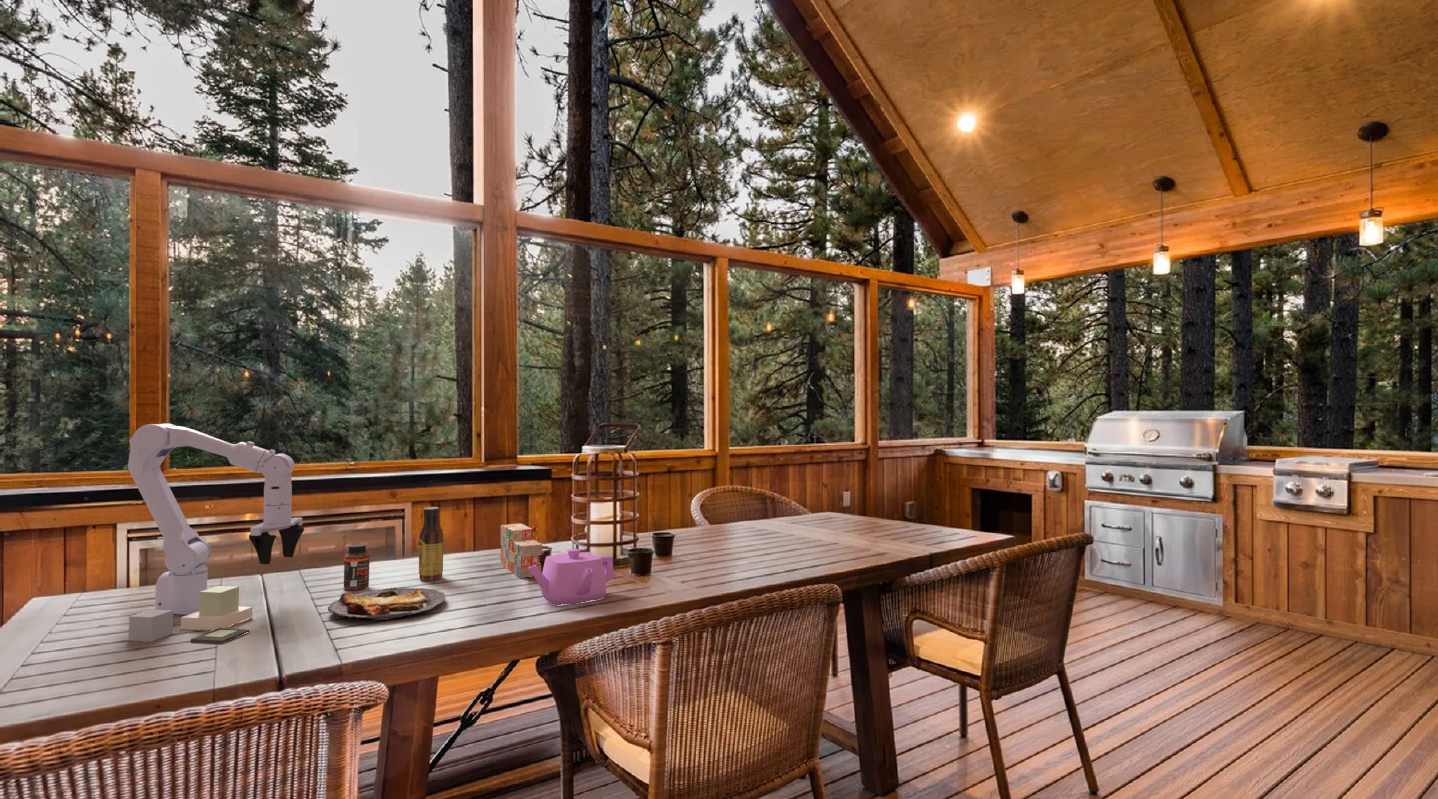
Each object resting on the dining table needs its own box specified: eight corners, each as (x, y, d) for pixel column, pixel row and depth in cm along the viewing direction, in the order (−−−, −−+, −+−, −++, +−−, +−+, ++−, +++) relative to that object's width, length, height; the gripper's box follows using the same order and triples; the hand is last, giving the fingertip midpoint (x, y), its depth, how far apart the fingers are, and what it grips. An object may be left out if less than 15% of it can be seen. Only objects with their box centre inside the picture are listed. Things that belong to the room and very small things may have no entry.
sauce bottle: (423, 576, 197) (424, 505, 197) (445, 576, 198) (446, 505, 198) (414, 582, 191) (415, 509, 191) (438, 581, 191) (439, 509, 191)
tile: (190, 641, 142) (190, 637, 142) (219, 630, 148) (219, 627, 148) (222, 643, 141) (222, 639, 141) (249, 632, 148) (249, 628, 148)
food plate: (322, 629, 150) (323, 612, 150) (332, 602, 171) (333, 587, 171) (447, 618, 160) (448, 603, 160) (442, 594, 182) (442, 580, 182)
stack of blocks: (542, 576, 199) (542, 533, 199) (520, 579, 195) (520, 535, 196) (520, 562, 217) (520, 522, 217) (500, 564, 214) (500, 524, 214)
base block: (180, 631, 150) (181, 617, 150) (216, 618, 159) (216, 605, 159) (218, 633, 149) (218, 619, 149) (252, 620, 157) (252, 607, 158)
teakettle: (616, 592, 183) (617, 544, 183) (590, 610, 167) (591, 558, 167) (556, 587, 187) (557, 541, 187) (525, 605, 170) (526, 554, 170)
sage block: (199, 614, 151) (199, 591, 151) (218, 608, 156) (218, 585, 156) (220, 615, 151) (220, 592, 151) (238, 609, 156) (238, 586, 156)
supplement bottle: (358, 591, 180) (358, 547, 181) (338, 590, 182) (338, 546, 182) (374, 586, 186) (374, 543, 186) (354, 584, 188) (355, 542, 188)
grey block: (128, 641, 142) (129, 616, 142) (151, 633, 147) (151, 609, 147) (151, 642, 142) (151, 617, 142) (172, 634, 146) (173, 610, 147)
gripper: (270, 508, 162) (269, 567, 162) (313, 500, 176) (312, 554, 176) (242, 508, 163) (241, 566, 163) (288, 499, 177) (287, 553, 177)
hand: (276, 560), depth 169 cm, fingers open, 7 cm apart
